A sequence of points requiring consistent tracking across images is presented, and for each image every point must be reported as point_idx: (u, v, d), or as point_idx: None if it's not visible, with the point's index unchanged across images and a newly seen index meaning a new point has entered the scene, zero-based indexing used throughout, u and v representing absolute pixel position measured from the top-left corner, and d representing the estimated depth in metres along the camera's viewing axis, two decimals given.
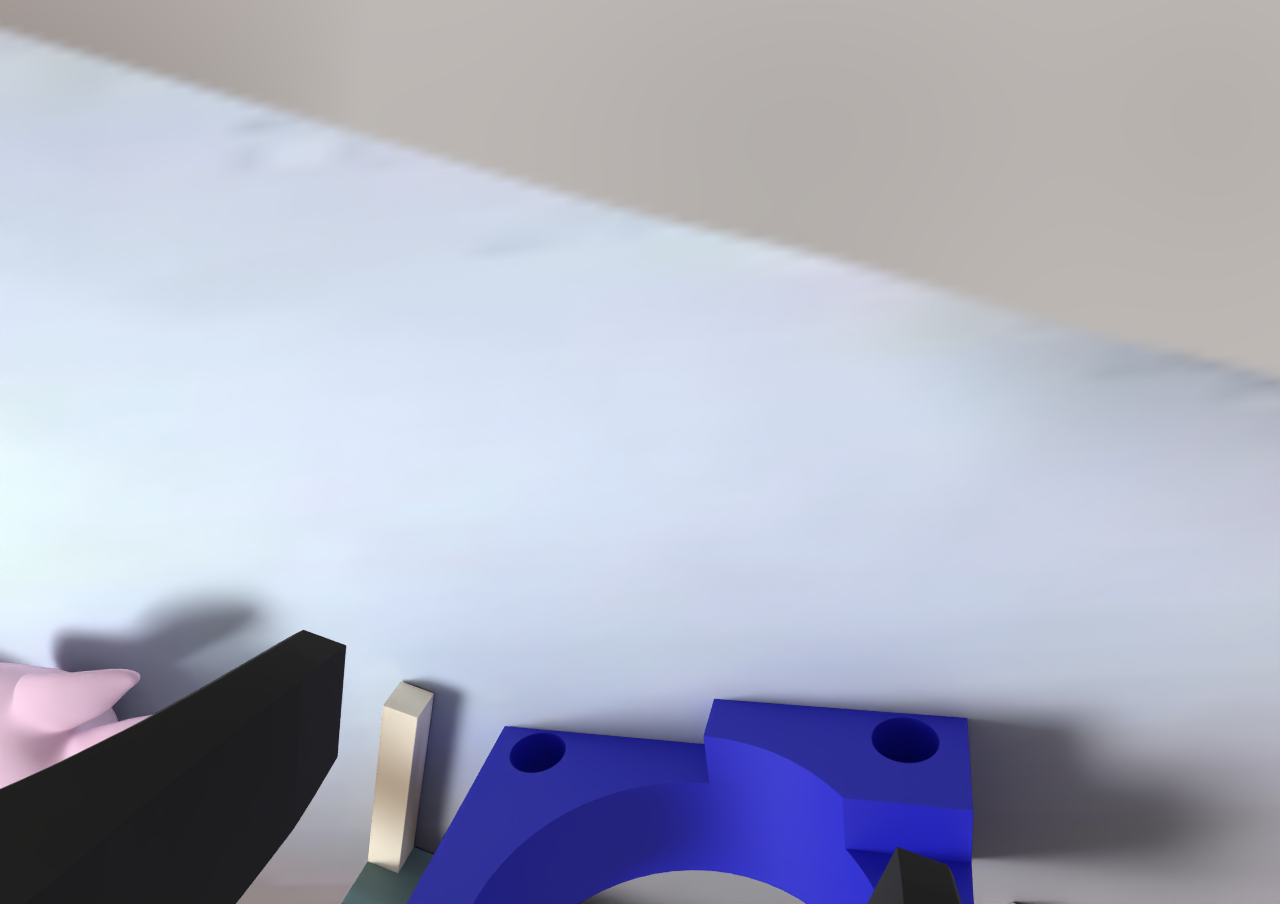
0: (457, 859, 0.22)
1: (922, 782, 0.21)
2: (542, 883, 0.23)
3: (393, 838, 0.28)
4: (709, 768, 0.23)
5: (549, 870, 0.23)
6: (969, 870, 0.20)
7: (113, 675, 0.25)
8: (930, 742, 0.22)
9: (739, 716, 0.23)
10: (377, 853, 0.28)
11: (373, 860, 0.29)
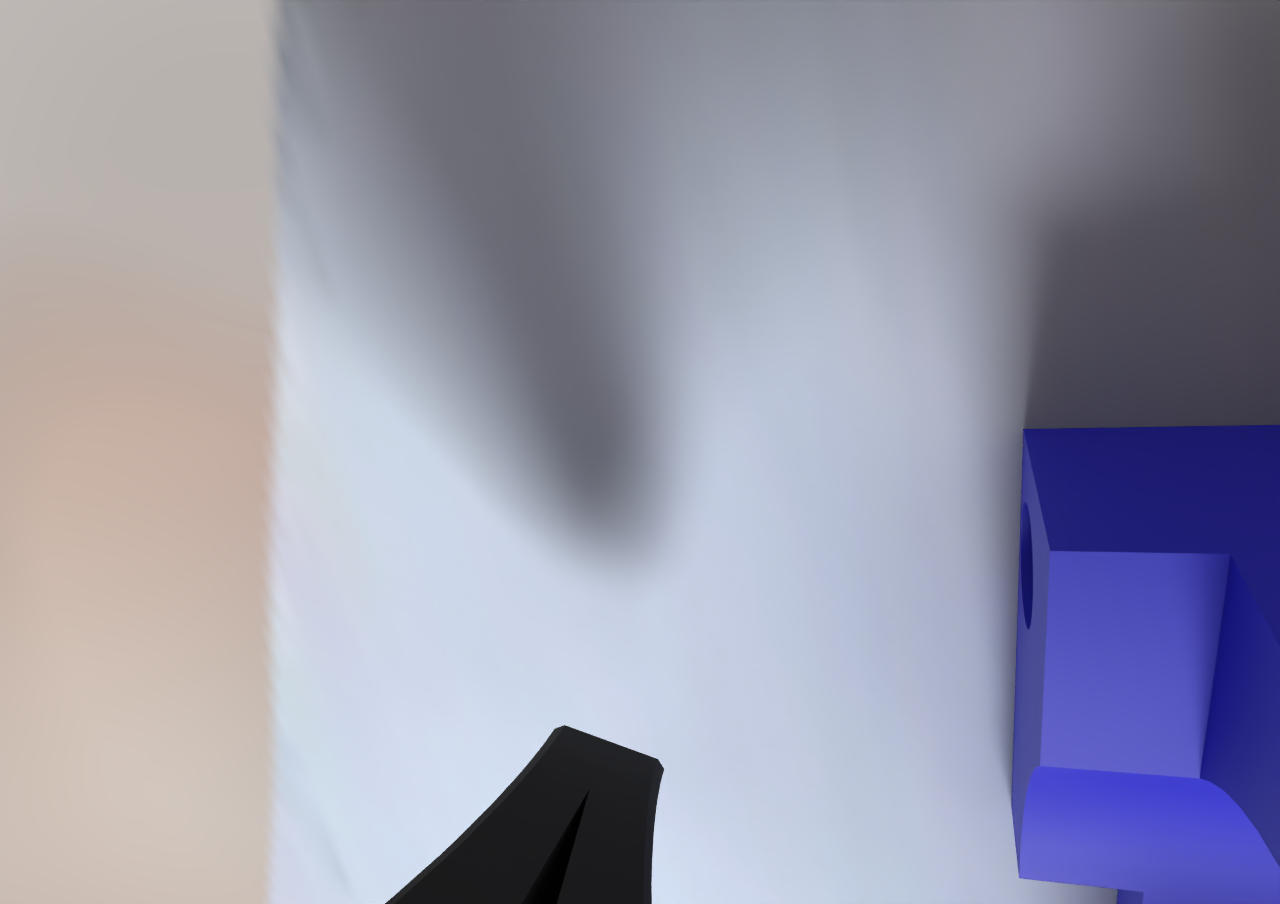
0: None
1: (1038, 600, 0.10)
2: None
3: None
4: (1101, 884, 0.12)
5: None
6: (1236, 570, 0.08)
7: None
8: None
9: (1015, 793, 0.13)
10: None
11: None
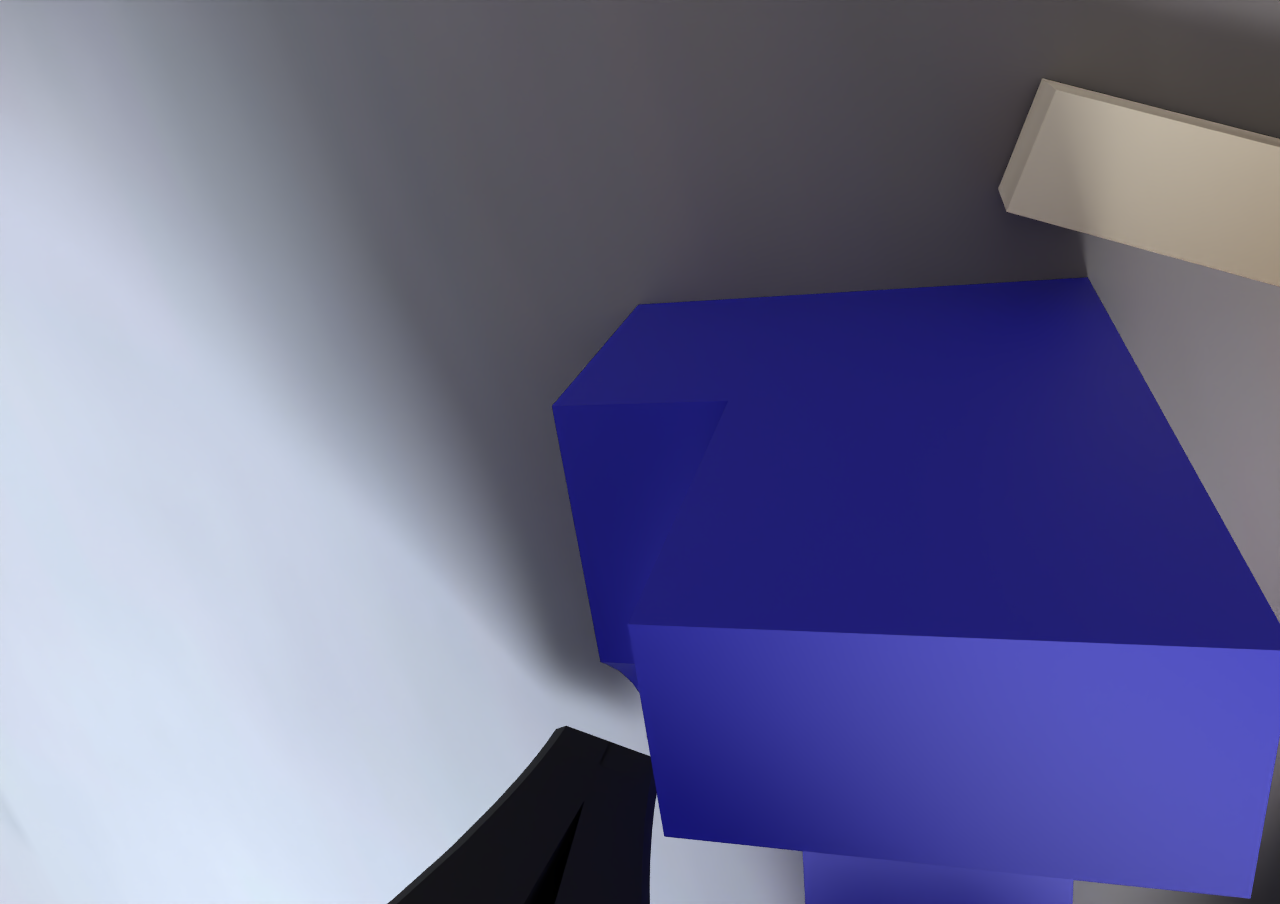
0: None
1: None
2: None
3: None
4: None
5: None
6: (724, 416, 0.07)
7: None
8: None
9: None
10: None
11: None
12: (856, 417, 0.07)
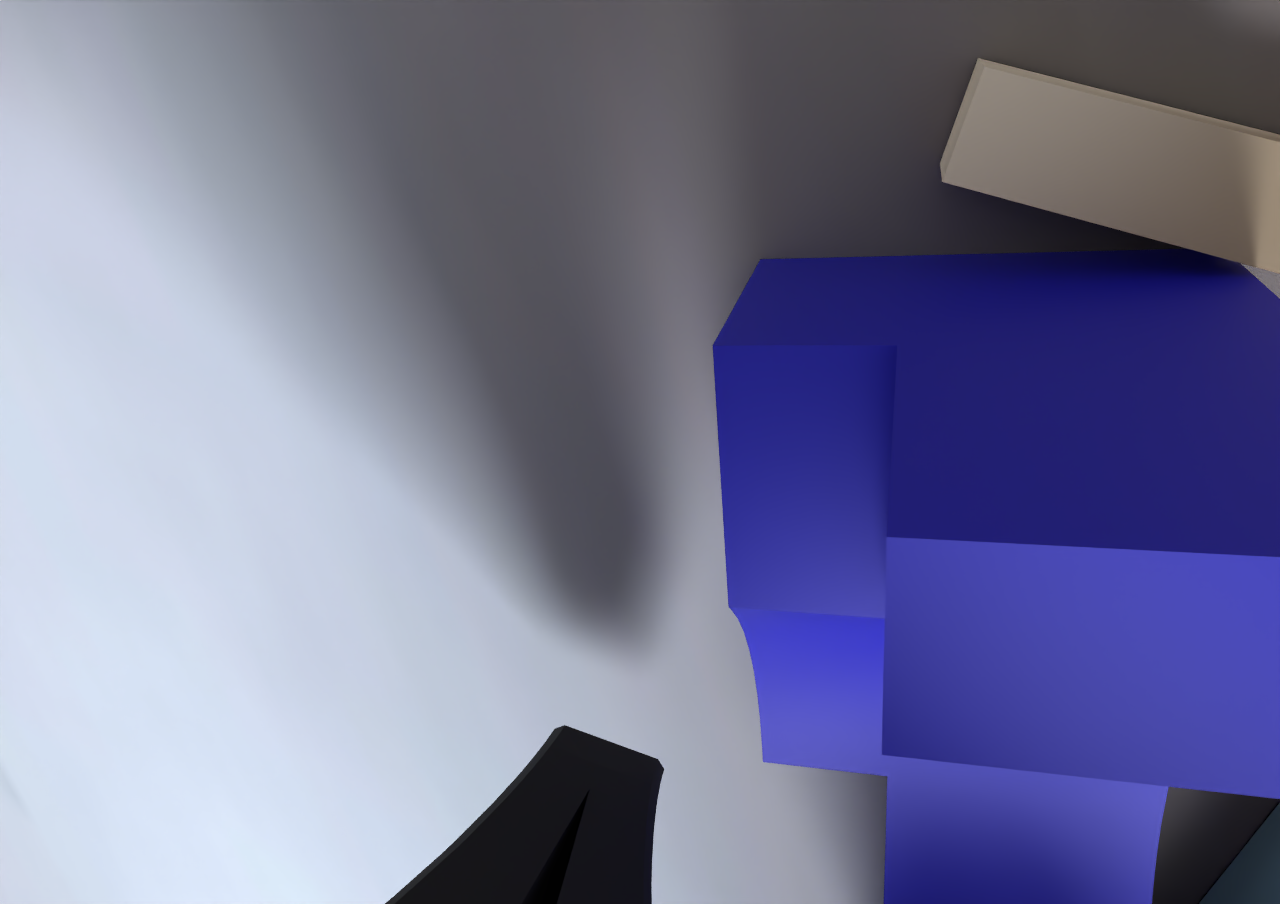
0: None
1: None
2: None
3: None
4: (845, 768, 0.12)
5: None
6: (896, 359, 0.07)
7: None
8: None
9: None
10: None
11: None
12: (1040, 363, 0.07)
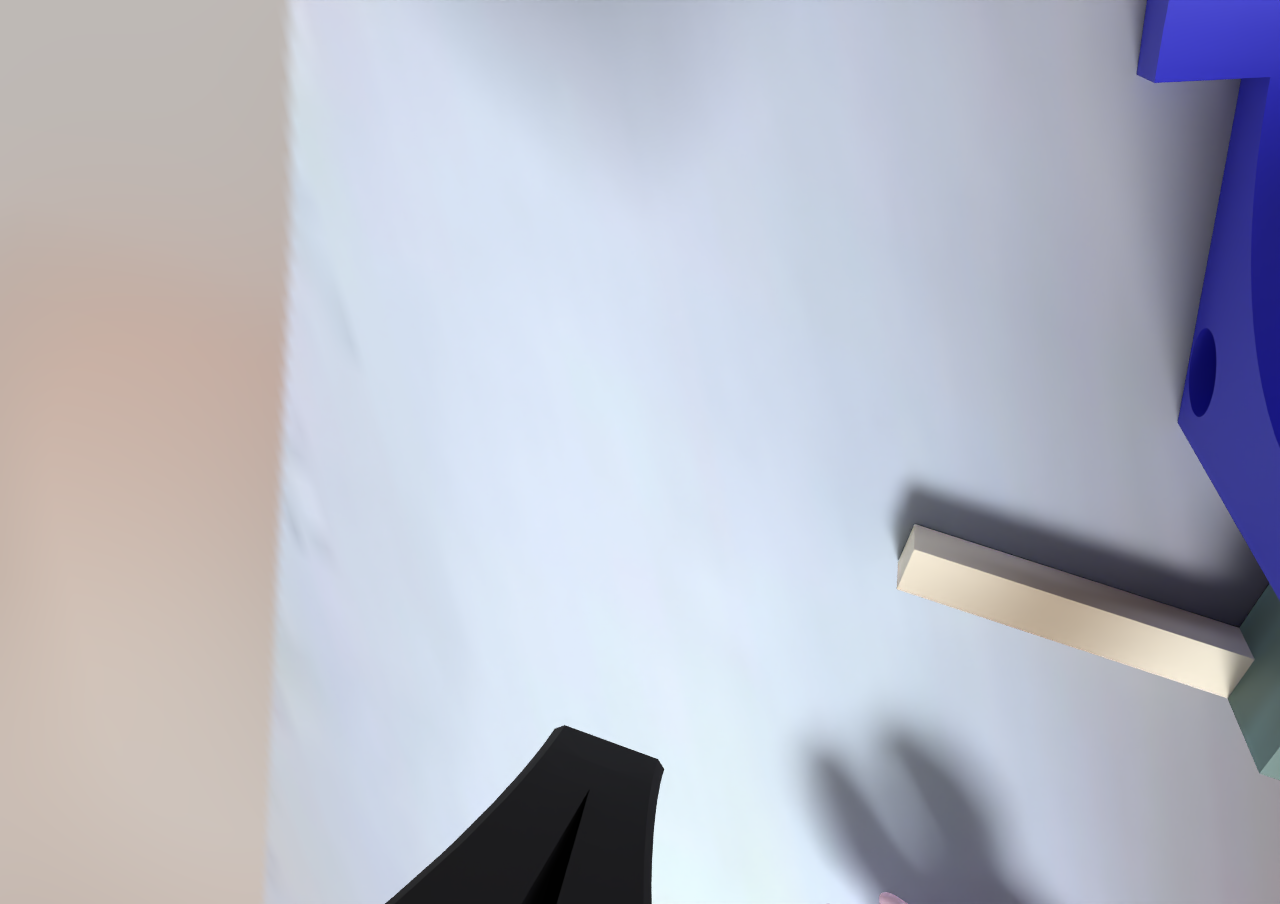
0: (1259, 510, 0.13)
1: None
2: None
3: (1169, 645, 0.18)
4: (1232, 75, 0.14)
5: None
6: None
7: None
8: None
9: (1151, 25, 0.14)
10: (1207, 678, 0.18)
11: (1224, 689, 0.18)
12: None
